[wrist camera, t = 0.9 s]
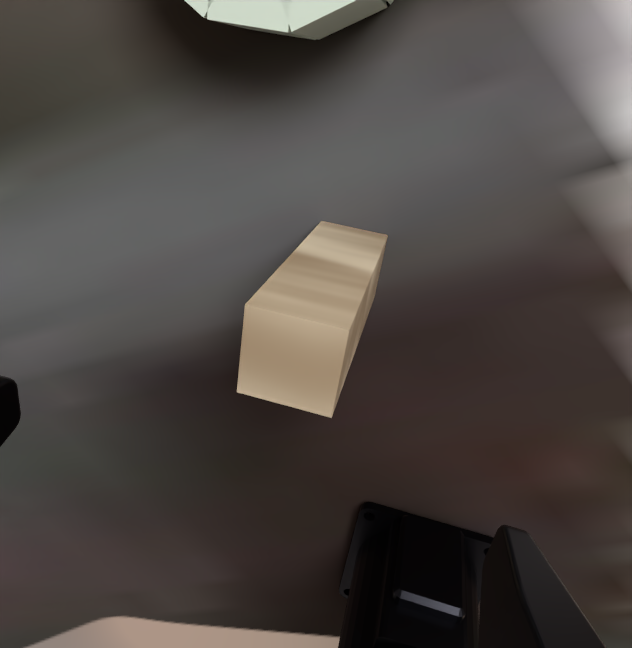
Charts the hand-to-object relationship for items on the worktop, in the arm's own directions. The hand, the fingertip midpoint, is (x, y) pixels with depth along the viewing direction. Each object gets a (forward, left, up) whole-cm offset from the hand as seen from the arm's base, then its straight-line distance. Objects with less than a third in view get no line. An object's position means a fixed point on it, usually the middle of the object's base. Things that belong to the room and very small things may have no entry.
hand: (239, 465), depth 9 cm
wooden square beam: (0, 0, -12) cm, 12 cm away
